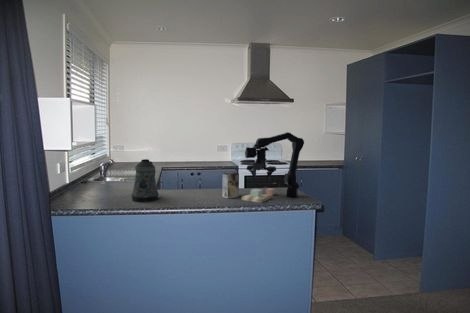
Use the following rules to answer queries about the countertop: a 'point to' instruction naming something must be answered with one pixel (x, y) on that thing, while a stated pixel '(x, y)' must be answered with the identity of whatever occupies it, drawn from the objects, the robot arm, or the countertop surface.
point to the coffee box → (230, 185)
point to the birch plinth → (256, 198)
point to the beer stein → (145, 182)
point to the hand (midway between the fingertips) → (261, 181)
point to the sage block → (256, 192)
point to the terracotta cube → (270, 191)
